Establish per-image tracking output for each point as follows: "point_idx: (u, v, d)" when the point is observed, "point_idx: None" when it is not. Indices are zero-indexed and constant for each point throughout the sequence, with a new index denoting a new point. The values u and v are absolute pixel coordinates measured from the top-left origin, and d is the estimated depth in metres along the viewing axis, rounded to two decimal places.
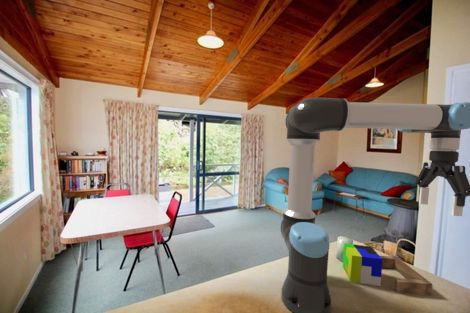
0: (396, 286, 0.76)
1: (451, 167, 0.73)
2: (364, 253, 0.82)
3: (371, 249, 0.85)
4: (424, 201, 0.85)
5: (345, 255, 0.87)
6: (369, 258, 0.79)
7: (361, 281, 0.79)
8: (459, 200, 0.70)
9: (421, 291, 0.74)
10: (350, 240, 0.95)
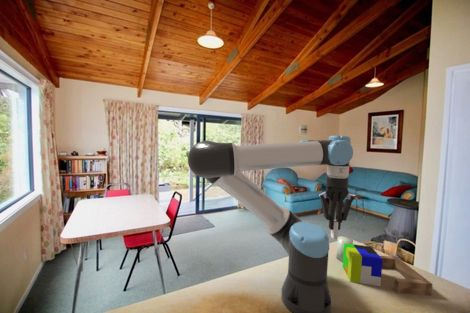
0: (396, 286, 0.76)
1: None
2: (364, 253, 0.82)
3: (371, 249, 0.85)
4: None
5: (345, 255, 0.87)
6: (369, 258, 0.79)
7: (361, 281, 0.79)
8: None
9: (421, 291, 0.74)
10: (350, 240, 0.95)
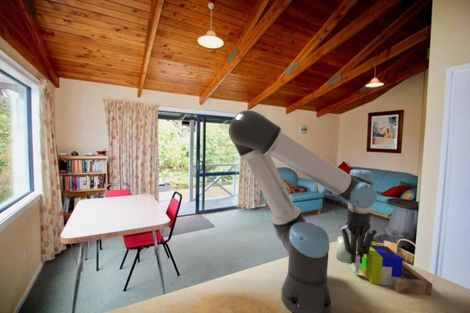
0: (396, 286, 0.76)
1: None
2: (383, 253, 0.81)
3: (388, 249, 0.85)
4: None
5: None
6: (390, 259, 0.78)
7: (382, 282, 0.79)
8: None
9: (421, 291, 0.74)
10: (350, 240, 0.95)
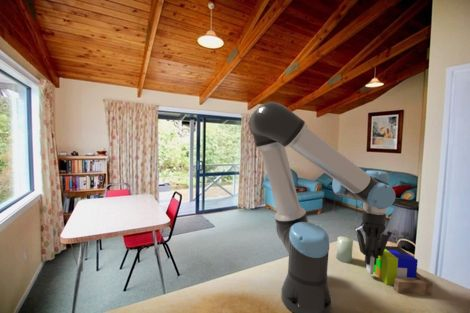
0: (396, 286, 0.76)
1: (361, 227, 0.84)
2: (398, 254, 0.81)
3: (401, 250, 0.85)
4: (369, 268, 0.84)
5: None
6: (405, 260, 0.78)
7: None
8: None
9: (421, 291, 0.74)
10: (350, 240, 0.95)
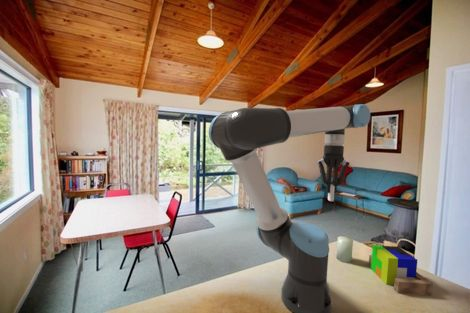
0: (396, 286, 0.76)
1: None
2: (397, 254, 0.81)
3: (400, 249, 0.85)
4: None
5: (375, 257, 0.86)
6: (405, 259, 0.78)
7: None
8: None
9: (421, 291, 0.74)
10: (350, 240, 0.95)
